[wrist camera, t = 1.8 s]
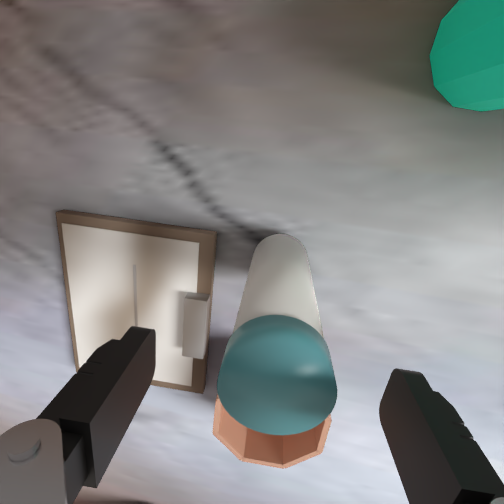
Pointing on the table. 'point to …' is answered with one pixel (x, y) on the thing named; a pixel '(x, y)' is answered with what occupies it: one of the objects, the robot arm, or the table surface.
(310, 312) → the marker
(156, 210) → the table surface
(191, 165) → the table surface
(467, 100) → the candle
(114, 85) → the table surface
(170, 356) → the clipboard
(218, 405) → the pen cup
